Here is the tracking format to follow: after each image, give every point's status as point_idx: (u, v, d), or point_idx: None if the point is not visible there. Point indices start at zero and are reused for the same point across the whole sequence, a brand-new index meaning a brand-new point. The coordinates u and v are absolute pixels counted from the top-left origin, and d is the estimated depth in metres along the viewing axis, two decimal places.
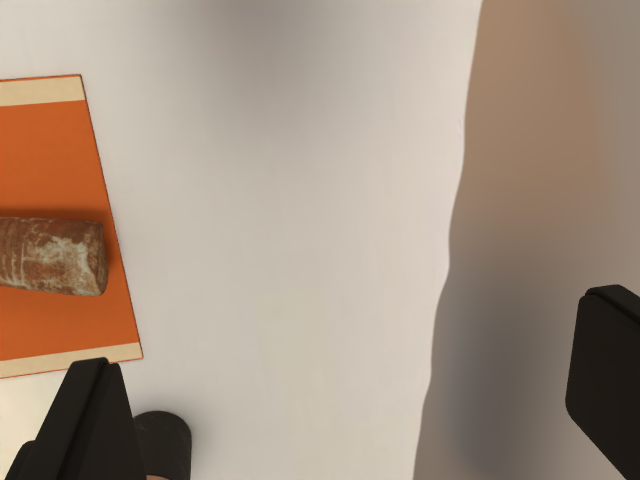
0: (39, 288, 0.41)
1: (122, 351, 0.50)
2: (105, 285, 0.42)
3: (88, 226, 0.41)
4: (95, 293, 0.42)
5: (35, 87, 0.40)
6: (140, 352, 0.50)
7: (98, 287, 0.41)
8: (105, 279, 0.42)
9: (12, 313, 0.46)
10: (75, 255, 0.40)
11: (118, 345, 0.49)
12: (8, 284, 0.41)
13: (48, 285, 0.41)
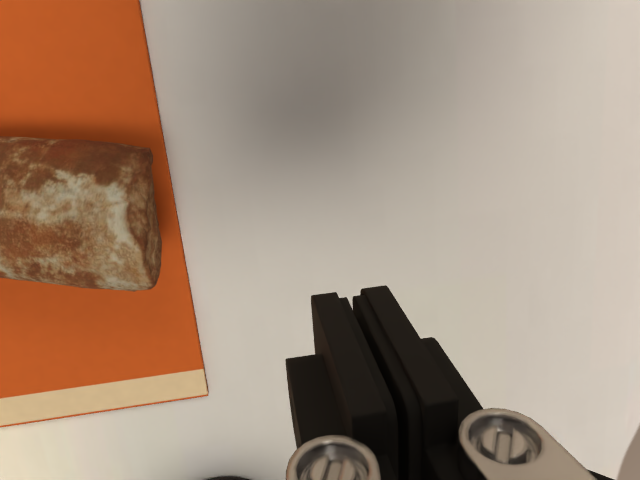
0: (31, 275, 0.21)
1: (175, 384, 0.29)
2: (159, 269, 0.22)
3: (127, 152, 0.21)
4: (140, 285, 0.21)
5: None
6: (204, 385, 0.30)
7: (147, 273, 0.21)
8: (158, 258, 0.22)
9: None
10: (103, 208, 0.20)
11: (168, 373, 0.29)
12: None
13: (48, 270, 0.21)
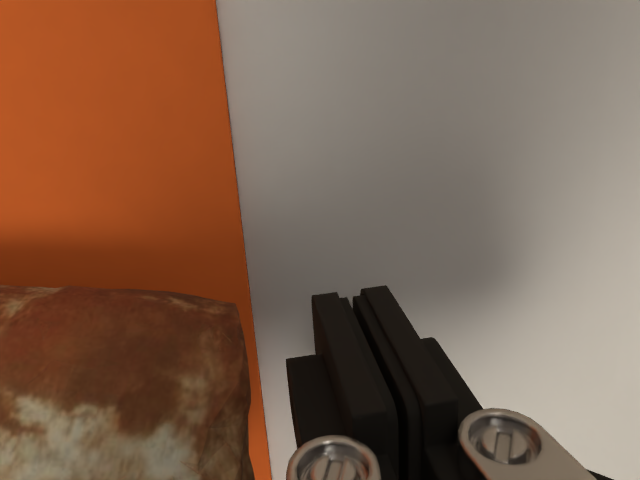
0: None
1: None
2: None
3: (192, 331, 0.09)
4: None
5: None
6: None
7: None
8: None
9: None
10: None
11: None
12: None
13: None
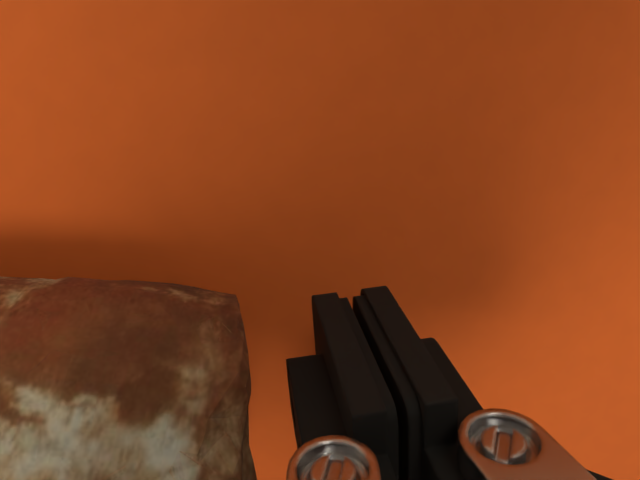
0: None
1: None
2: None
3: (192, 321, 0.09)
4: None
5: None
6: None
7: None
8: None
9: None
10: None
11: None
12: None
13: None
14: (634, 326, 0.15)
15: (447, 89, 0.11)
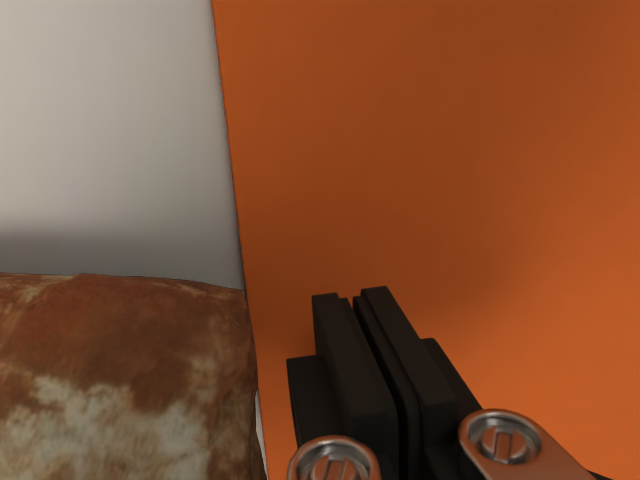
0: None
1: None
2: None
3: (202, 315, 0.09)
4: None
5: None
6: None
7: None
8: None
9: (592, 456, 0.16)
10: (151, 472, 0.08)
11: None
12: None
13: None
14: None
15: None
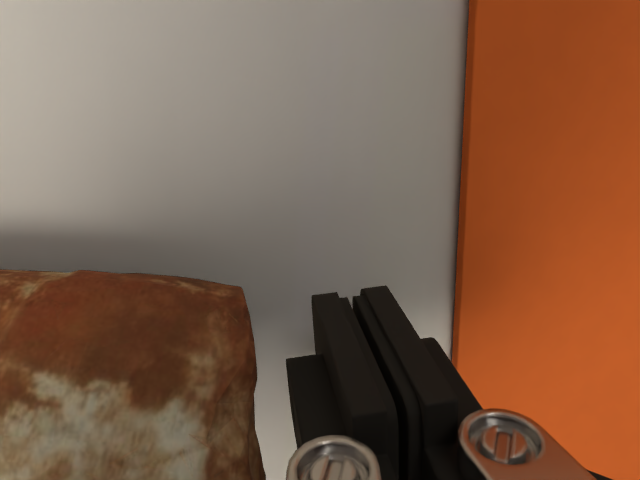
0: None
1: None
2: None
3: (200, 312, 0.09)
4: None
5: None
6: None
7: None
8: None
9: None
10: (149, 470, 0.08)
11: None
12: None
13: None
14: None
15: None
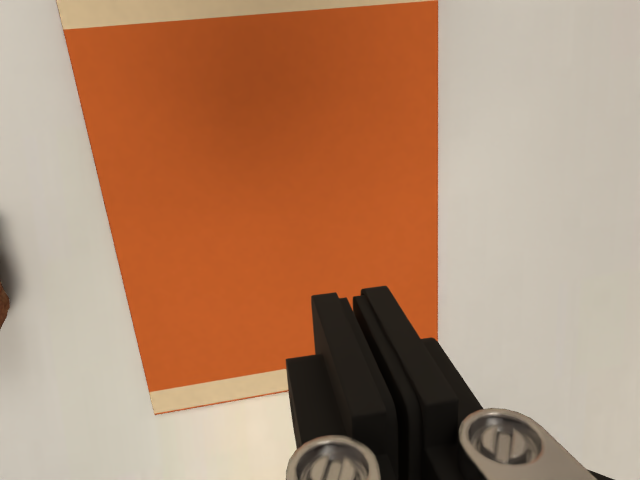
0: None
1: None
2: None
3: None
4: None
5: None
6: None
7: None
8: None
9: (292, 306, 0.34)
10: None
11: None
12: None
13: None
14: (401, 227, 0.34)
15: (303, 130, 0.31)
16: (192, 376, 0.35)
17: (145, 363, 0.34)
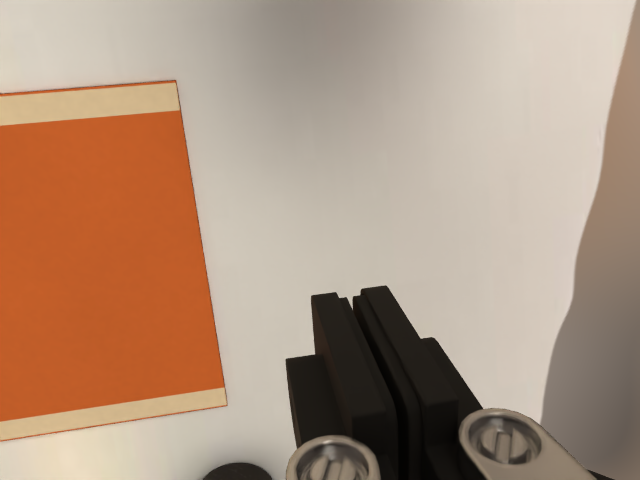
0: None
1: (205, 398, 0.43)
2: None
3: None
4: None
5: (123, 95, 0.34)
6: (225, 398, 0.43)
7: None
8: None
9: (83, 357, 0.40)
10: None
11: (200, 391, 0.43)
12: None
13: None
14: (175, 292, 0.39)
15: (72, 215, 0.36)
16: (0, 415, 0.41)
17: None
